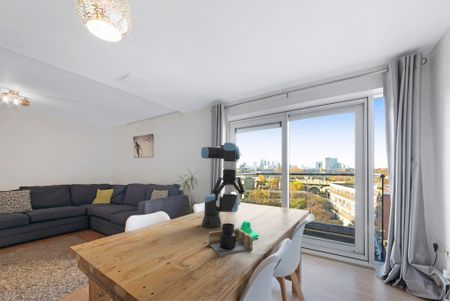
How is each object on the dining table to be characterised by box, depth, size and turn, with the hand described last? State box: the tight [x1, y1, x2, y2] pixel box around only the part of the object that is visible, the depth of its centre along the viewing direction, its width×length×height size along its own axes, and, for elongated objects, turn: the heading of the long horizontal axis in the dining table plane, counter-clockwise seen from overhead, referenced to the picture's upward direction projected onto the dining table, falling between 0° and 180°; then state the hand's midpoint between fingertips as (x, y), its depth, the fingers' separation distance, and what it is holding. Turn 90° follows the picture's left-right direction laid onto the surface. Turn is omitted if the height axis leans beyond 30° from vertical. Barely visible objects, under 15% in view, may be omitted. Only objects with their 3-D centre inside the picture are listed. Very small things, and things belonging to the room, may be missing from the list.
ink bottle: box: [220, 222, 236, 249], centre depth 113 cm, size 10×9×12 cm
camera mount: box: [239, 220, 260, 241], centre depth 129 cm, size 12×8×10 cm, turn 127°
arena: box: [208, 228, 254, 257], centre depth 114 cm, size 16×20×7 cm
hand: (228, 205), depth 116 cm, fingers open, 13 cm apart
